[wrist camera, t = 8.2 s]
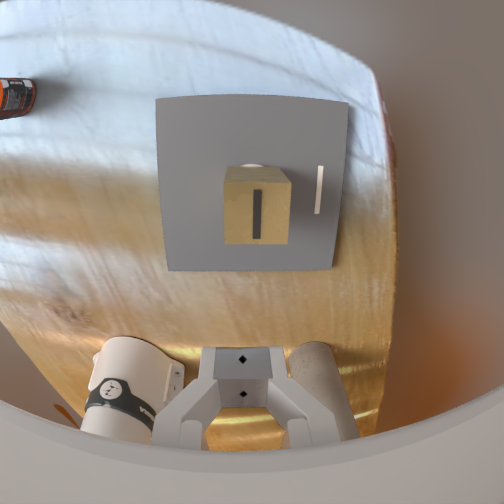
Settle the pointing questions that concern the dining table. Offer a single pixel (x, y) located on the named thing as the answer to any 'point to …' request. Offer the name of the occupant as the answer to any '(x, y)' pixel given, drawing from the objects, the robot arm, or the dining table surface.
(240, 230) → the brushed gold block
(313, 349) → the thermos bottle
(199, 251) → the stud plate
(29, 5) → the dining table surface
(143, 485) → the robot arm
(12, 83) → the supplement bottle
